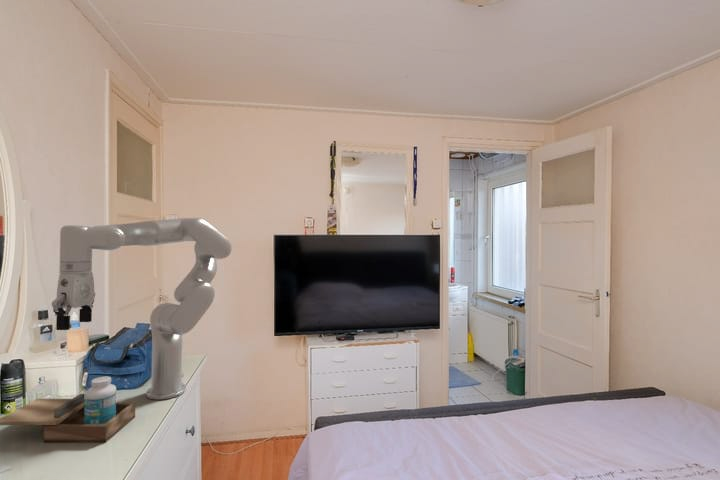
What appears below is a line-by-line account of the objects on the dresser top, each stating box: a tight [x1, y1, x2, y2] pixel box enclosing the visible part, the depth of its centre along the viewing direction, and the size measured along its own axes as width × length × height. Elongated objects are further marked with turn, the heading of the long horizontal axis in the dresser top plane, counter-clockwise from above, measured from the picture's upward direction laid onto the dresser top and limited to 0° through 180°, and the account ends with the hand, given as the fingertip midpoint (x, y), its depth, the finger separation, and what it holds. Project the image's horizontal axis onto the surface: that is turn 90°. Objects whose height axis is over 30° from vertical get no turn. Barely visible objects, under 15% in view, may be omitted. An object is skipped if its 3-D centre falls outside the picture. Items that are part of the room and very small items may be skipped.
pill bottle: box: [84, 375, 117, 424], centre depth 105 cm, size 8×7×14 cm
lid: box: [0, 393, 85, 426], centre depth 105 cm, size 14×16×3 cm
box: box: [43, 402, 136, 444], centre depth 105 cm, size 14×16×4 cm
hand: (74, 325), depth 108 cm, fingers open, 9 cm apart
